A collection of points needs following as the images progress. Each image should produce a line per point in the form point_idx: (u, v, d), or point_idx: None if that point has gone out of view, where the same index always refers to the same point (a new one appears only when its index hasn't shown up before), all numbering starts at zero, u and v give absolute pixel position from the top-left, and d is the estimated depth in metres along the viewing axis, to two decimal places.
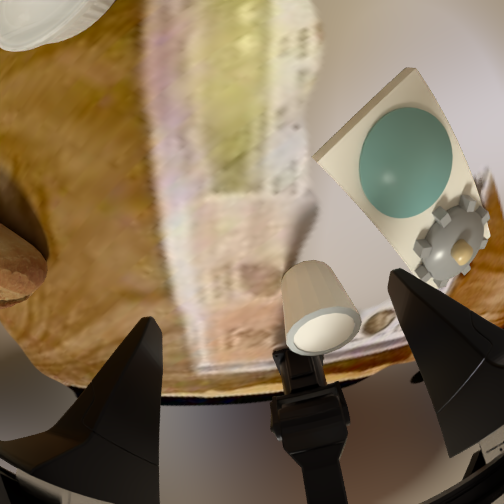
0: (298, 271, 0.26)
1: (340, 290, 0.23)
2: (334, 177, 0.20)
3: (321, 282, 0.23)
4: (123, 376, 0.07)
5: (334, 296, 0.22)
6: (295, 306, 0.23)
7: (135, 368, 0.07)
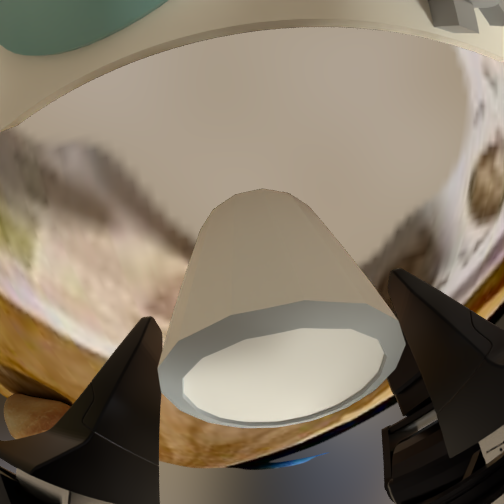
0: None
1: (234, 250, 0.07)
2: (22, 109, 0.06)
3: (194, 264, 0.08)
4: (123, 376, 0.07)
5: (195, 296, 0.06)
6: None
7: (135, 368, 0.07)
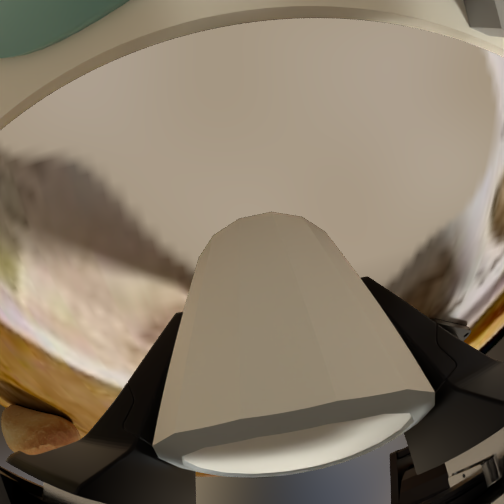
0: None
1: (240, 309, 0.05)
2: None
3: (191, 314, 0.07)
4: (165, 375, 0.07)
5: (192, 370, 0.05)
6: None
7: None
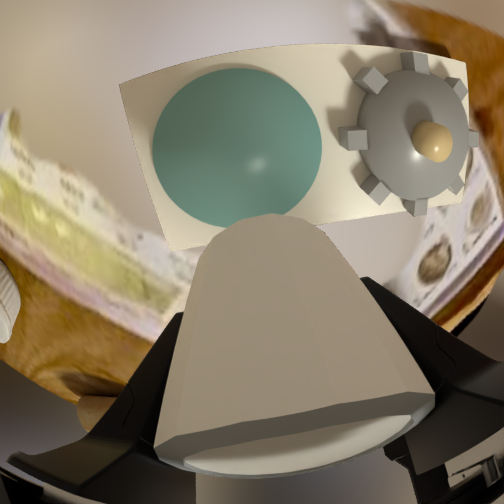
0: None
1: (241, 311, 0.05)
2: (195, 245, 0.19)
3: (191, 316, 0.07)
4: (165, 375, 0.07)
5: (193, 373, 0.05)
6: None
7: None
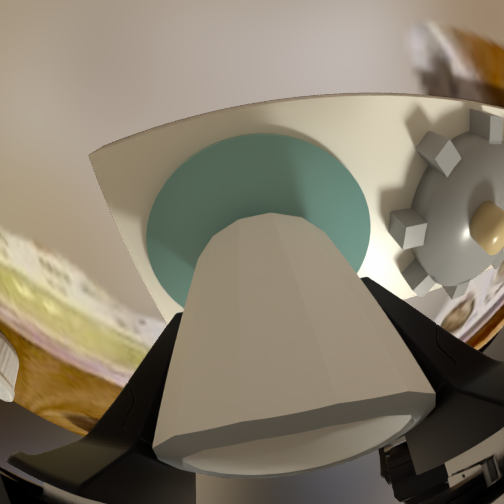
0: None
1: (240, 310, 0.05)
2: None
3: (190, 316, 0.07)
4: (165, 374, 0.07)
5: (192, 372, 0.05)
6: None
7: None
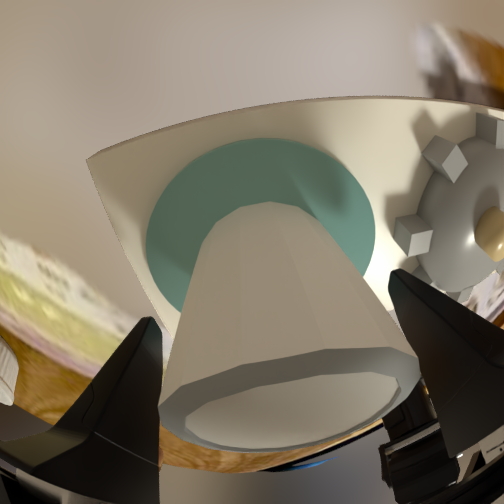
0: None
1: (242, 278, 0.06)
2: None
3: (196, 288, 0.07)
4: (123, 376, 0.07)
5: (198, 332, 0.06)
6: None
7: (135, 368, 0.07)
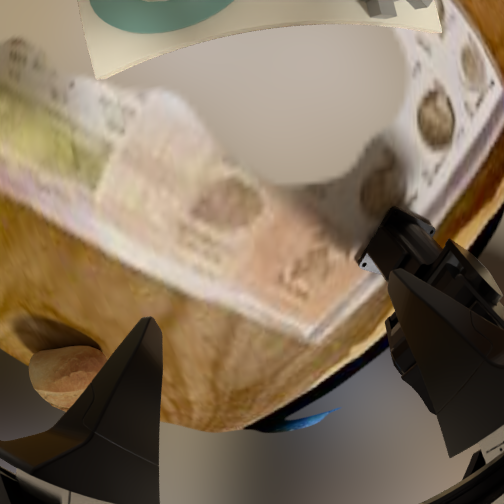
0: None
1: None
2: (122, 64, 0.12)
3: None
4: (123, 376, 0.07)
5: None
6: None
7: (135, 368, 0.07)
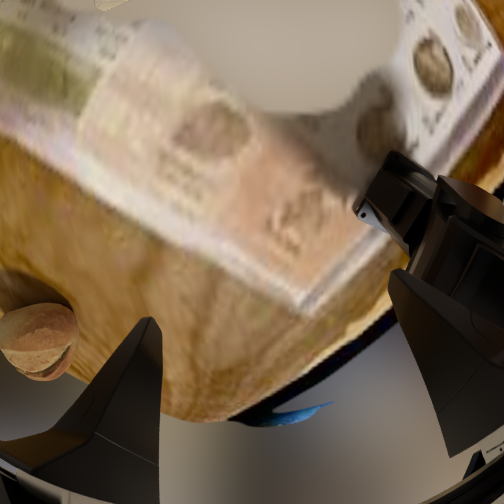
0: None
1: None
2: None
3: None
4: (123, 376, 0.07)
5: None
6: None
7: (135, 368, 0.07)
